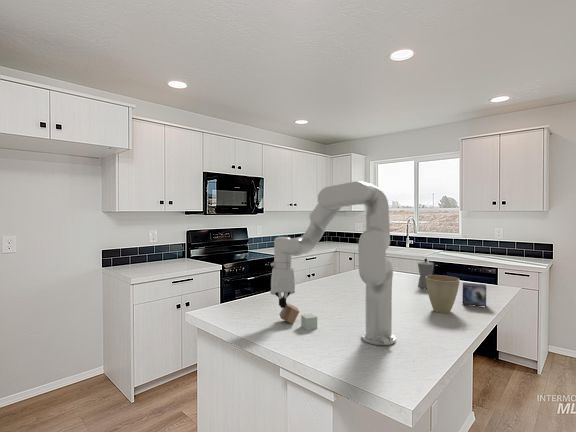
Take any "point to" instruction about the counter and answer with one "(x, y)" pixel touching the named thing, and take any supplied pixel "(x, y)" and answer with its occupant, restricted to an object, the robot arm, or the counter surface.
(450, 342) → the counter surface
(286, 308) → the walnut block
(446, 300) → the plant pot
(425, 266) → the coffeepot
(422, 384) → the counter surface
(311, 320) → the sage block
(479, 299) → the picture frame
